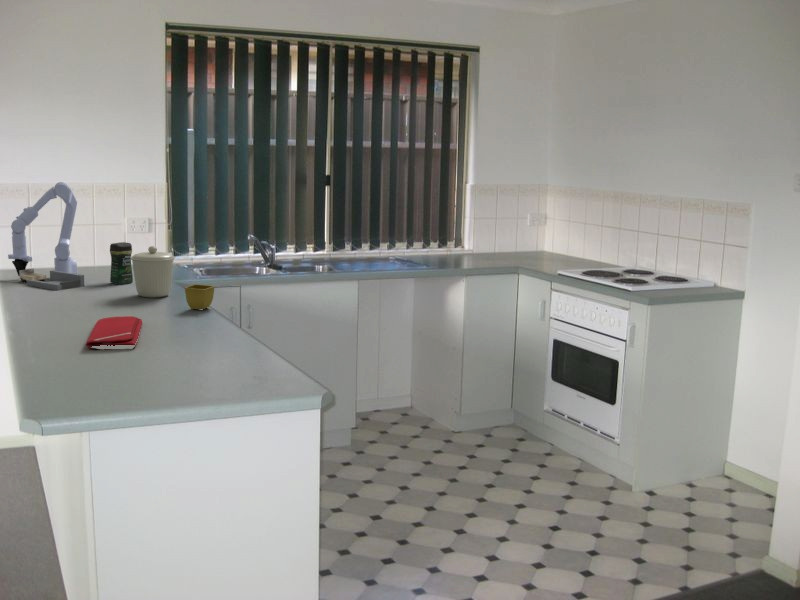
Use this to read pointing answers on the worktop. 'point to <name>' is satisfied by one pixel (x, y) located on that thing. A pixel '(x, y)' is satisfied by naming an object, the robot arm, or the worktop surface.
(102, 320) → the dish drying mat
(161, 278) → the canister
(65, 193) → the robot arm
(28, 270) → the footed beige box
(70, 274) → the loading dock
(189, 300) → the flower pot
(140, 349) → the worktop surface
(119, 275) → the coffee jar
